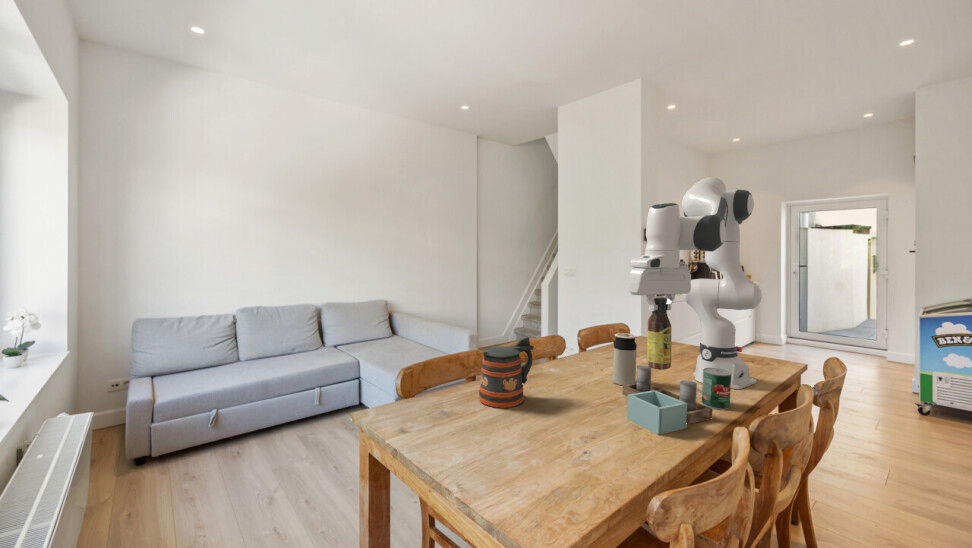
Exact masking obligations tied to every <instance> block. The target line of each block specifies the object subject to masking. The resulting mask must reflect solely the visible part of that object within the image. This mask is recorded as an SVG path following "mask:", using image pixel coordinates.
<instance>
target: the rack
mask: <svg viewBox="0 0 972 548" xmlns="http://www.w3.org/2000/svg"><path fill="white" fill-rule="evenodd" d="M651 380H652V368H651V367H649V366H648V365H640V364H639V365H636V382H635V384H628V385H623V386H622V395H624V396H625V397H628V395H629V394H635V393H641V392H647V391H653V390H655V391H658V392H660V393H663V394H665V395H668V396H670V397H672V398H675V399H677V400H680V401H682V402H685V403H687V422H686V423H687V424H686V425H691V424H695V423H699V421H700V422H704V421H708V420H712V419H713V408H709V407H707V406H704V405H703V404H702V403H698V402H697V388H698V387H697V382H695V381H692V380H687V379H686V380H685V379H684V380H680V381H679V394H676V393H674V392H671V391H669V390H667V389H665V388H664V389H663V388H661V387H658V386H656V385H653V384H652V383H651V382H652V381H651ZM711 418H712V419H711ZM707 419H708V420H707ZM703 420H704V421H703ZM694 422H695V423H694ZM690 423H691V424H690Z"/></svg>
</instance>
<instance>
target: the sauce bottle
mask: <svg viewBox="0 0 972 548" xmlns="http://www.w3.org/2000/svg"><path fill="white" fill-rule="evenodd" d="M654 302H655V305H658V307H657V311H651V315H650V316H649V318H648V320H647V332H646V333H647V334H646V335H647V336H646V337H647V339H646V340H647V343H646V344H647V345H646V346H647V347H646V349H647V351H646V352H647V358H646V360H647V366H649V367H651V369H654V370H658V371H659V370H668V369H671V366H672V365H671V364H672V324H671V322H670V318H669V316H668V312H667V311H668V310H666V303H667V298H666V297H665V296H655V299H654Z"/></svg>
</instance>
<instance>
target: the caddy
mask: <svg viewBox="0 0 972 548" xmlns="http://www.w3.org/2000/svg"><path fill="white" fill-rule="evenodd" d="M626 403H627V406H626V419H628V421H631V422H633V423H636V424H637V425H639V426H640V427H643V428H645V429H646V430H648V431H650V432H653V434H655V435H659V436H660V435H662V434H663V435H664V434H667V433H673V432H676V431H681V430H685V429H687V424H686V422H687V403H685V402H682V401H680V400H677V399H675V398H672V397H670V396H668V395H665V394H663V393H660V392H658V391H655V390H653V391H647V392H641V393H635V394H629V395H628V396H627V401H626Z"/></svg>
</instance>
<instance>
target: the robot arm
mask: <svg viewBox="0 0 972 548" xmlns="http://www.w3.org/2000/svg"><path fill="white" fill-rule="evenodd" d="M682 197H683V198H682V200H681V207H682V210H683V211H682V212H683V216H681V212H680V211H681V210H680V205H679V203H678V204H677V203H676V202H668V203H659V204H658V203H657V204H654V205H652V206H650V207H649V208H648V209H649V210H648V212H647V218H646V226H645V237H646V246H645V252H644V254H642V255H641V256H638V257H635V258H633V259H631V260H630V267H631V270H630V271H629V276H628V277H629V278H628V291H629V293H630V294H631V295H633V296H645V300H646V302H647V304H648V311H650V312H652V311H657V307H658V305H655V302H654V299H655V297H656V296H660V295H661V296H662V295H663V296H664V297H666V298H667V303H666V311H671V310H672V305H673V303H674V300H675V298H676V295H681V296H682V299H683V301H684V302H685V303H686V304H687V305H688V306H690V307H691V309H693V310H694V312H695V313H696V315H697V317H698V319H699V321H700V332H701V335H700V336H701V337H700V338H701V340H700V343H699V347H698V348H699V353H700V354H698V356H697V361H696V366H695V371H693V374H692V375H693V376H694V379H695V380H696V381H697V382H700V383H702V384H703V369H704V368H718V369H723V370H727V371H729V372H731V388H730V389H734V390H742V389H745V388H748V387H749V386H752V385H754V384H757V383H758V381H757V379H756V378H753V377H752V376H750V367H749V365H748V364H747V363H746V362H744V360H742V359H741V358H740V357H739V354H738V353H742V352H743V350H744V349H743V347H742V346H737V345H736V329H737V328H736V326H735V324H734V322H732V321H731V320H729V319H727V318H725V317H723V316H722V315H720V314H719V312H718V310H719V309H721V310H722V309H723V310H733V311H734V310H735V311H742V310H744V311H745V310H746V311H747V310H754V309H756V308H758V306H759V305H760V303H761V300H762V298H763V297H762V295H763V294H762V290H761V287H759V285H758V284H757V283H756V282H754V281H753V280H751V279H750V277H748V276H747V275H746V273H745V272H744V269H743V268H742V265H741V260H740V259H741V257H740V255H741V254H740V248H741V247H740V245H741V243H740V241H741V233H740V231H741V230H740V225H741V224H742V223H743V222H744V221H746V220H747V219H748V218H750V216H751V215H752V212H753V210H754V206H755V202H754V198H753V194H752V193H751V192H750V191H749V190H746V189H737V190H732V189H730V190H727V187H726V183H725V182H724V181H723V180H722V179H720V178H718V177H717V176H708V177H704V178H702V179H700V180H698V181H697V182H695V183H693V185H692V186H691V187H690V188H689V189H688V190H687V191H686V192H685V193H684V195H683V196H682ZM680 251H701V252H704V262H705V264H706V265H707V266H708V267H709V268H711V269H714V270H715V271H717V272H720V273H721V275H722V278H720V279H719V278H715V279H714V278H695V279H691V272H690V270H689V269H690V267H689V265H688V264H687V262H686V261H680ZM735 345H736V346H735Z"/></svg>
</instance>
